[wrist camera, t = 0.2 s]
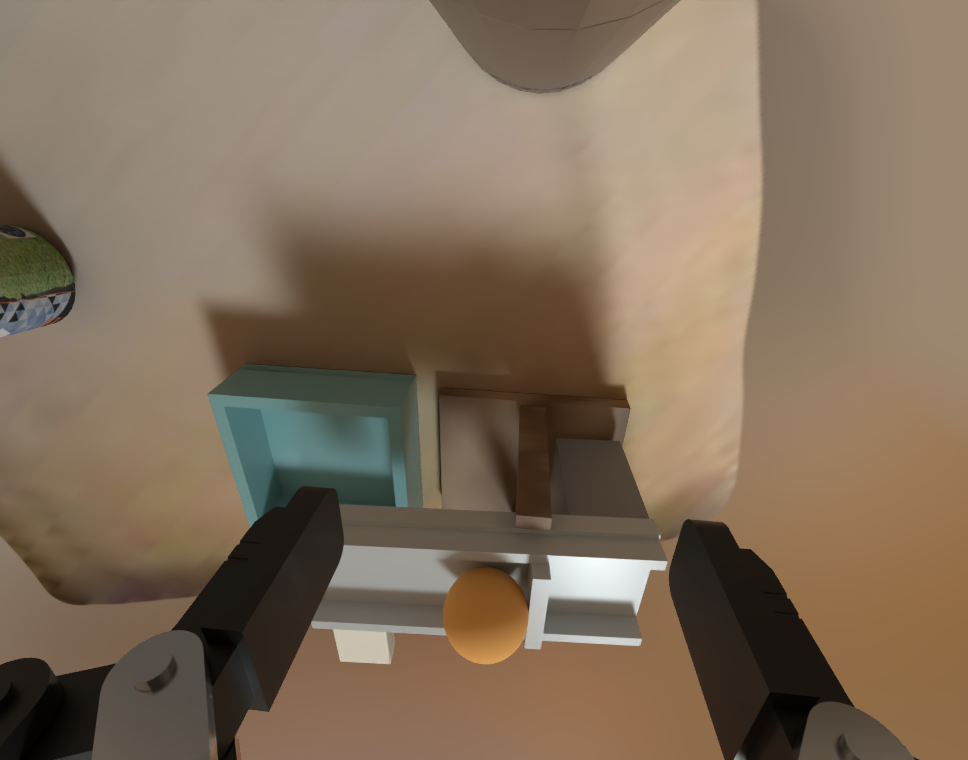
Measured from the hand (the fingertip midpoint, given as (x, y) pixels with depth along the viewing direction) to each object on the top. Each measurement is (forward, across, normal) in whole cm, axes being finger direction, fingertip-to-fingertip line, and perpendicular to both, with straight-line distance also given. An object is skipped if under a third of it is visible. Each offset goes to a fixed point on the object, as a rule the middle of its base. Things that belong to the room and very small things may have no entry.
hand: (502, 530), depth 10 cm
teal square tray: (+18, +12, +11) cm, 24 cm away
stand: (+18, -1, +11) cm, 21 cm away
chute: (+16, +2, +13) cm, 21 cm away
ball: (+6, +1, +11) cm, 13 cm away
